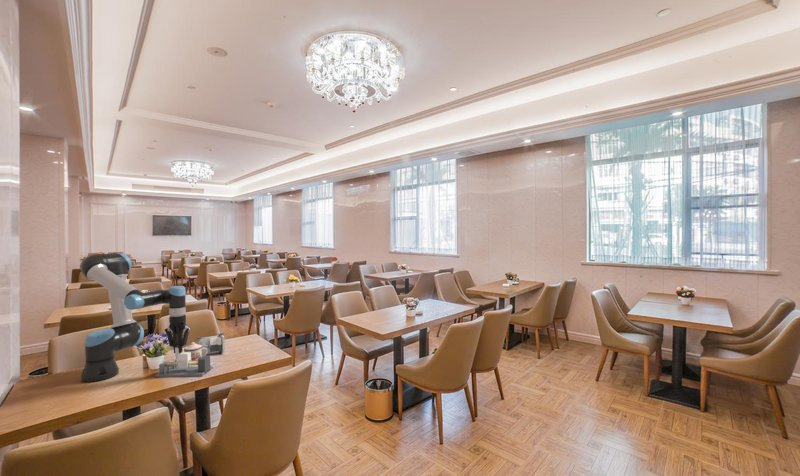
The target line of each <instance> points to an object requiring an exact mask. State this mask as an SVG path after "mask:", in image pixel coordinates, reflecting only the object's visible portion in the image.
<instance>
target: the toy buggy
mask: <svg viewBox="0 0 800 476" xmlns="http://www.w3.org/2000/svg"><path fill="white" fill-rule="evenodd" d="M224 335H225V333H224V332H220V333H218V334H217V335H212V336H205V337H202V336H197V337H196V338H195V339H196V340H198V342H195V344H199V345H201V346H202V348H206V349H207V354H206V355H208V354H213V353H220V354H225V350H226V349H225V336H224ZM201 352H202V355H204V354H205V352H206V350H205V349H202V350H201Z"/></svg>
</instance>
